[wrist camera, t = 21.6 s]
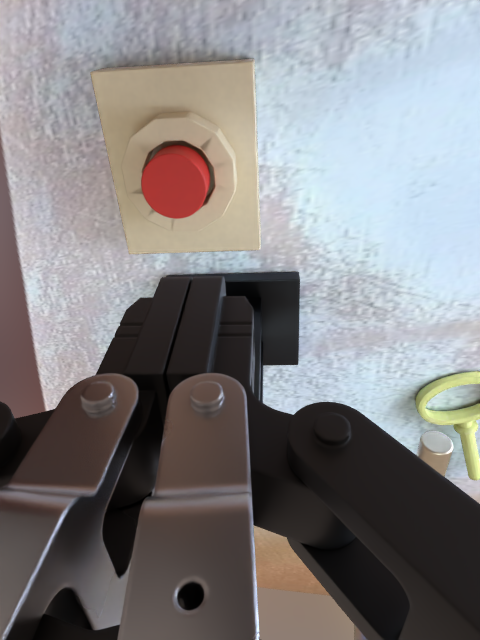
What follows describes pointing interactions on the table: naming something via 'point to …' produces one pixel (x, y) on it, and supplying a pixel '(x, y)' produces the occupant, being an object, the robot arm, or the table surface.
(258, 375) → the bracket
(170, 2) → the table surface
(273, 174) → the table surface
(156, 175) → the button
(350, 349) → the table surface
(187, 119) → the button box
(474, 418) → the key
